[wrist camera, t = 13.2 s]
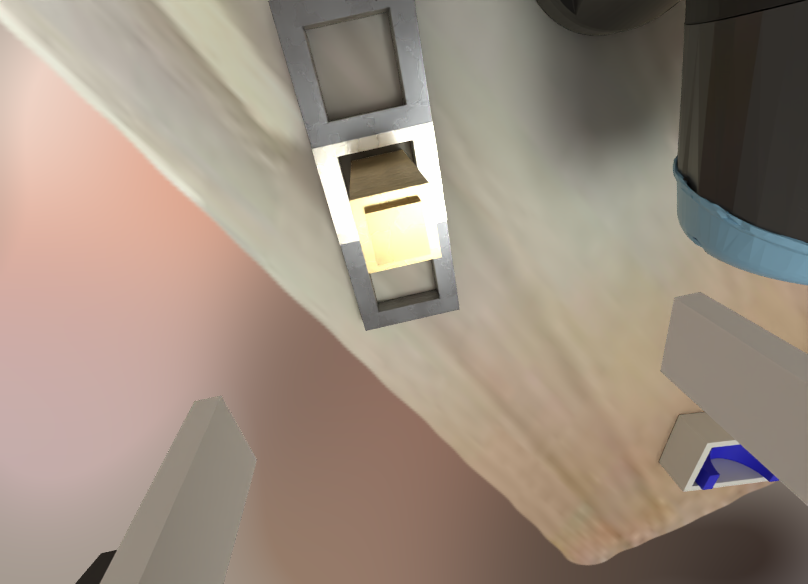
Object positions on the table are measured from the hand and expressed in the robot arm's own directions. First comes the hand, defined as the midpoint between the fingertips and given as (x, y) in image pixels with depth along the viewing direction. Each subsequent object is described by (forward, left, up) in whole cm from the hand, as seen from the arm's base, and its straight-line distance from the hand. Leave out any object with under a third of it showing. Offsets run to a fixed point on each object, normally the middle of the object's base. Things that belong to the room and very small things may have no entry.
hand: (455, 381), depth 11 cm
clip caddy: (+39, +49, -27) cm, 69 cm away
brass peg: (0, 0, -27) cm, 27 cm away
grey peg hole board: (0, -1, -27) cm, 27 cm away
